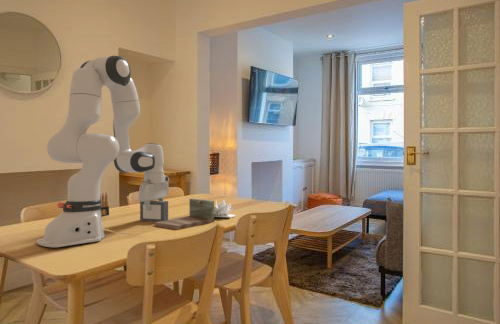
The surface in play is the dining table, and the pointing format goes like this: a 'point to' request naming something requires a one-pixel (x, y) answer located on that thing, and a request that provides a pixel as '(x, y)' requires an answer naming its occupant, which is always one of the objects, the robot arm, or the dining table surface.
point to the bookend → (192, 216)
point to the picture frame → (154, 211)
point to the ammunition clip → (104, 205)
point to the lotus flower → (223, 210)
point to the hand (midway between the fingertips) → (154, 209)
